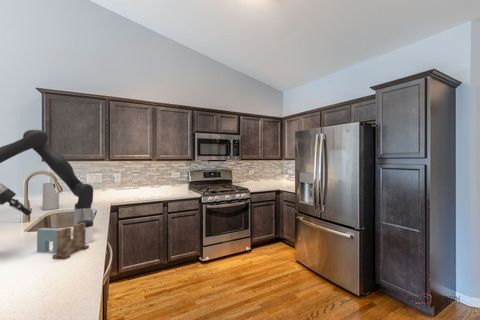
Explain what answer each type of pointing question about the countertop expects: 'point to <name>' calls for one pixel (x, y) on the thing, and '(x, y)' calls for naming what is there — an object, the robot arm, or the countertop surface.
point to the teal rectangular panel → (46, 239)
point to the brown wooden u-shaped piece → (70, 241)
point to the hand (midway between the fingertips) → (29, 214)
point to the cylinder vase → (50, 197)
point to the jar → (88, 230)
